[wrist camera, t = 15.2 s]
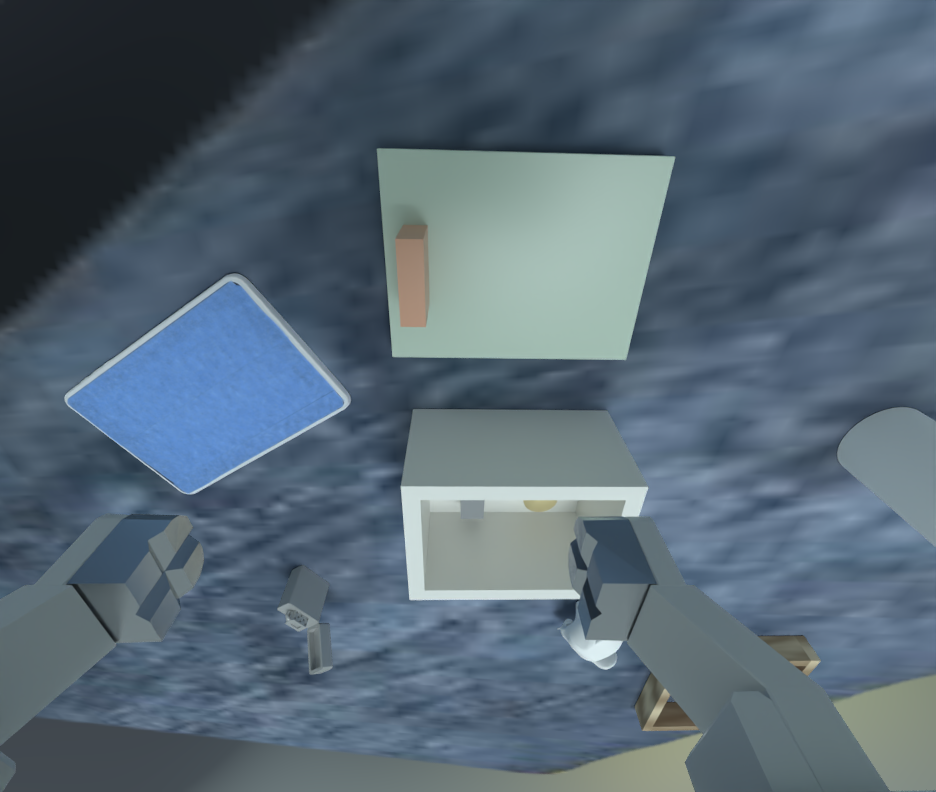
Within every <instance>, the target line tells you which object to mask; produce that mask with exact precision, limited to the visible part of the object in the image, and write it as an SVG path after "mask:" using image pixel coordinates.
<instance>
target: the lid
mask: <svg viewBox="0 0 936 792" xmlns="http://www.w3.org/2000/svg"><path fill="white" fill-rule="evenodd" d="M377 158H378V171H379V184H380V198H381V211H382V224H383V237H384V251H385V264H386V277H387V290H388V304H389V317H390V330H391V343H392V357H437V358H520V359H603V360H626V357H627V353H628V349H629V345H630V341H631V337H632V333H633V329H634V324H635V320H636V316H637V312H638V308H639V304H640V300H641V296H642V292H643V287H644V283H645V279H646V275H647V271H648V267H649V263H650V259H651V255H652V250H653V246H654V242H655V238H656V234H657V230H658V226H659V222H660V218H661V213H662V209H663V205H664V201H665V197H666V193H667V189H668V185H669V181H670V176H671V172H672V168H673V164H674V160H675V157H673V156H658V155H622V154H585V153H548V152H512V151H475V150H439V149H402V148H377Z"/></svg>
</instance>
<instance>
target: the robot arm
mask: <svg viewBox="0 0 936 792" xmlns="http://www.w3.org/2000/svg"><path fill="white" fill-rule="evenodd" d="M192 528H193V527H192V525H191V523H190V521H189V519H188V517H187V516H180V515H150V514H105V515H103V516H101V517H99V518H97V519H96V520H95V521H94V522H93V523H92V524H91V525H90V526H89V527H88V528H87V529H86V530H85V531H84V533H83V534H82V535H81V536H80V537H79V538H78V539H77V540H76V541H75V542H74V543H73V544H72V545H71V546H70V547H69V548H68V550H67V551H66V552H65V553H64V554H63V555H62V556H61V557H60V558H59V559H58V560H57V561H56V562H55V563H54V564H53V565H52V567H51V568H50V569H49V570H48V571H47V572H46V573H45V574H44V575H43V576H42V577H41V578H40V579H39V580H38V581H37V582H36V584H35V585H25V586H23V587H21V588H20V589H18V590H16V591H14V592H13V593H11V594H9V595H7V596H6V597H4V598H2V599H0V746H1V745H2V744H3V743H4V742H5V741H6V740H7V739H9V738H10V737H11V736H12V735H13V734H14V733H16V732H17V731H18V730H19V729H20V728H21V727H22V726H24V725H25V724H26V723H27V722H28V721H30V719H32V718H33V717H34V716H35V715H36V714H38V713H39V712H40V711H41V710H42V709H43V708H45V707H46V706H47V705H48V704H49V703H50V702H52V701H53V700H54V699H55V698H56V697H57V696H59V695H60V694H61V693H62V692H63V691H64V690H65V689H67V688H68V687H69V686H70V685H71V684H72V683H74V682H75V681H76V680H77V679H78V678H79V677H81V676H82V675H83V674H84V673H85V672H86V671H88V670H89V669H90V668H91V667H92V666H93V665H94V664H96V663H97V662H98V661H99V660H100V659H101V658H103V657H104V656H105V655H106V654H107V653H108V652H110V651H111V650H112V649H113V648H114V647H115V646H116V643H129V642H160V641H162V640H163V639H164V637H165V635H166V633H167V632H168V630H169V628H170V627H171V625H172V623H173V622H174V620H175V618H176V616H177V615H178V613H179V611H180V610H181V606H180V600H179V598H180V597H182V596H183V595H184V594H186V593H187V592H188V591H190V590H191V589H192V588H193V587H194V585H195V583H196V582H197V580H198V578H199V576H200V574H201V570H202V566H203V561H204V557H203V549H202V547H201V544H200V542H199V541H197V540H196V539H194V538H193V537H191V536H190V535H189V533H190V531H191V530H192ZM574 533H575V536H576V539H575V540H573V541H572V542H571V543H570V547H569V553H568V568H569V575H570V580H571V584H572V588H573V589H574V590H575V591H576V592H577V593H578V594H579V595H580V600H579V604H578V607H577V609H578V613H579V617H580V620H581V624H582V628H583V632H584V636H585V640H612V641H628V642H627V644H628V645H629V646H630V647H631V648H632V650H633V651H634V652H635V653H636V654H637V656H638V657H639V658H640V659H641V660H642V661H643V663H644V664H645V665H646V666H647V667H648V669H649V670H650V671H651V672H652V673H653V675H654V676H655V677H656V678H657V679H658V681H659V682H660V683H661V684H662V685H663V687H664V688H665V689H666V690H667V691H668V693H669V694H670V695H671V696H672V697H673V699H674V700H675V701H676V702H677V703H678V705H679V706H680V707H681V708H682V709H683V711H684V712H685V713H686V714H687V715H688V717H689V718H690V719H691V720H692V721H693V723H694V724H695V725H696V726H697V727H698V729H699V730H700V731H701V732H702V733H703V736H702V737H701V738H700V740H699V741H698V743H697V744H696V745H695V747H694V748H693V750H692V751H691V752H690V754H689V756H688V757H687V760H686V761H685V764H686V767H687V770H688V773H689V776H690V779H691V781H692V784H693V787H694V790H695V792H936V790H933V791H931V790H930V791H890V790H889V789H888V787H887V786H886V784H885V783H884V781H883V780H882V778H881V777H880V775H879V774H878V772H877V771H876V769H875V767H874V766H873V764H872V763H871V761H870V760H869V758H868V757H867V755H866V754H865V752H864V751H863V749H862V747H861V746H860V744H859V743H858V741H857V740H856V738H855V737H854V735H853V734H852V732H851V731H850V729H849V728H848V726H847V725H846V723H845V721H844V720H843V718H842V717H841V715H840V714H839V712H838V711H837V709H836V708H835V707H834V705H833V703H832V701H831V700H830V698H829V697H828V695H827V694H826V692H825V691H824V689H823V688H822V687H820V686H819V685H818V684H817V683H815V682H814V681H813V680H812V679H810V678H809V677H808V676H807V675H805V674H804V673H803V672H802V671H800V670H799V669H798V668H797V667H795V666H794V665H793V664H792V663H790V662H789V661H788V660H787V659H785V658H784V657H783V656H782V655H780V654H779V653H778V652H777V651H775V650H774V649H773V648H772V647H770V646H769V645H768V644H767V643H765V642H764V641H763V640H762V639H760V638H759V637H758V636H757V635H755V634H754V633H753V632H752V631H750V630H749V629H748V628H747V627H745V626H744V625H743V624H742V623H740V622H739V621H738V620H737V619H735V618H734V617H733V616H732V615H730V614H729V613H728V612H727V611H725V610H724V609H723V608H722V607H720V606H719V605H718V604H717V603H715V602H714V601H713V600H712V599H710V598H709V597H708V596H707V595H705V594H704V593H703V592H702V591H700V590H699V589H698V588H697V587H695V586H694V585H686V583H685V582H684V580H683V578H682V576H681V574H680V572H679V570H678V568H677V566H676V564H675V562H674V560H673V558H672V556H671V554H670V552H669V550H668V548H667V546H666V544H665V542H664V540H663V538H662V536H661V534H660V532H659V530H658V528H657V527H656V525H655V523H654V521H653V520H652V519H651V518H650V517H623V516H599V517H578V518H577V519H576V521H575V525H574ZM15 772H16V768H15V762H14V761H13V760H11V759H10V758H9V757H7V756H6V755H5V754H3V753H2V752H1V751H0V792H2V791H3V790H4V788H5V787H6V785H7V784H8V782H9V781H10V779H11V778H12V776H13V775H14V773H15Z"/></svg>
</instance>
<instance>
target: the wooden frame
mask: <svg viewBox="0 0 936 792" xmlns="http://www.w3.org/2000/svg"><path fill="white" fill-rule="evenodd" d="M758 637H759V638H760V639H762V640H763V641H764V642H765V643H767V644H768V645H769V646H770V647H772V648H773V649H774V650H775V651H777V652H778V653H779V654H780V655H782V656H783V657H784V658H785V659H787V660H788V661H789V662H790V663H792V664H793V665H794V666H795V667H797V668H798V669H799V670H800V671H802V672H803V673H804V674H805V675H807V676H808V675H809V674H810V673H811V672H812V671H813V669H814V668H815V667H816V666H817V665H818V664H819V662H820V661H821V660H820V659H819V657H818V656H817V654H816V653H815V651H814V650H813V648H812V647H811V645H810V644H809V643H808V641H807V640H806V638H805V637H804V636H758ZM669 696H670V694H669V693H668V691H667V690H666V689H665V688H664V687H663V685H662V684H661V683H660V682H659V681H658V679H657V678H656V677H655V676H654V675H653V673H652V672H651V674H650V676H649V678H648V680H647V682H646V684H645V686H644V688H643V690H642V692H641V695H640V697H639V699H638V701H637V703H636V705H635V709H636V713H637V716H638V719H639V722H640V726H641V729H642V731H667V730H699V729H698V727H697V726H696V725H695V724H694V723H693V721H692V720H691V719H690V718H689V717H688V715H687V714H686V713H685V712H684V711H683V709H682V708H681V707H680V706H679V705H678V703H677V702H667V700H668V698H669Z"/></svg>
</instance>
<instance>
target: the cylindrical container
mask: <svg viewBox="0 0 936 792" xmlns="http://www.w3.org/2000/svg"><path fill="white" fill-rule="evenodd" d="M837 458H838V461H839V463H840V464H841V465H842V466H843V467H844V468H845V469H846V470H847V471H849V472H850V473H851V474H852V475H853V476H854V477H856V478H857V479H858V480H859V481H860V482H861V483H862V484H864V485H865V486H866V487H867V488H868V489H869V490H871V491H872V492H873V493H874V494H875V495H876V496H877V497H879V498H880V499H881V500H882V501H883V502H884V503H885V504H887V505H888V506H889V507H890V508H891V509H892V510H894V511H895V512H896V513H897V514H898V515H899V516H900V517H902V518H903V519H904V520H905V521H906V522H907V523H909V524H910V525H911V526H912V527H913V528H914V529H915V530H917V531H918V532H919V533H920V534H921V535H922V536H924V537H925V538H926V539H927V540H928V541H929V542H930V543H932V544H933V545H934V546H935V547H936V421H935V420H933V419H931V418H930V417H928V416H926V415H925V414H923V413H921V412H920V411H918V410H916V409H913V408H910V407H896V408H890V409H886V410H883V411H880V412H877V413H875V414H873V415H871V416H869V417H867V418H865V419H864V420H862V421H861V422H859V423H858V424H856V425H855V426H854V427H853V428H852V429H851V430H850V431H849V432H848V433H847V434H846V435H845V436H844V438H843V439H842V441H841V442H840V445H839V447H838V451H837Z"/></svg>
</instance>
